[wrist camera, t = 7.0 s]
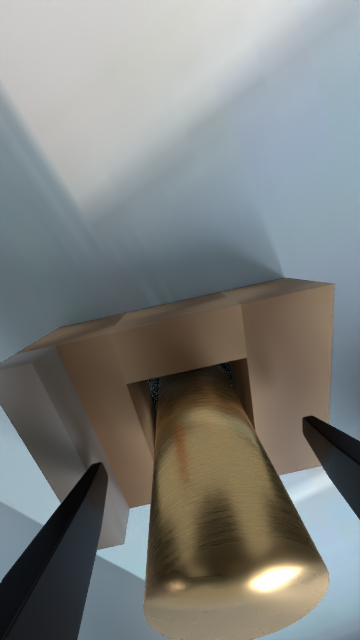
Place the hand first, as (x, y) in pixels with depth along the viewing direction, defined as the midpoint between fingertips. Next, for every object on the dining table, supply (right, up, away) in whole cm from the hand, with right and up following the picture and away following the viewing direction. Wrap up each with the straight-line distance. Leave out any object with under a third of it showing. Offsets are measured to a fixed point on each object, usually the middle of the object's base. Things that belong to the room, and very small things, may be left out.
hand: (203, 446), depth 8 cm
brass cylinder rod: (0, +2, +5) cm, 5 cm away
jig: (0, +1, +5) cm, 5 cm away
